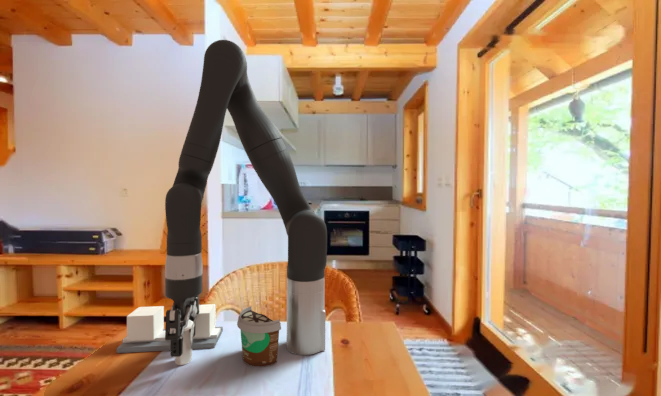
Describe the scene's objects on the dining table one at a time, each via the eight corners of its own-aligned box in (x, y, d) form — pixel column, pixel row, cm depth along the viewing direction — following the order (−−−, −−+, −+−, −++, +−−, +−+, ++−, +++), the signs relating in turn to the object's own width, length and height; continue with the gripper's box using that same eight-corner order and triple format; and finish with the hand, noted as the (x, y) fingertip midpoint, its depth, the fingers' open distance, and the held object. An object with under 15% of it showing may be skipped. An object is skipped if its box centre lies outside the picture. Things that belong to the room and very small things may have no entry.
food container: (226, 355, 72) (226, 312, 72) (249, 345, 76) (249, 305, 76) (257, 377, 63) (257, 329, 63) (281, 365, 68) (281, 320, 68)
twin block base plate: (222, 331, 84) (222, 301, 84) (214, 347, 75) (214, 315, 75) (136, 335, 81) (135, 305, 81) (116, 353, 72) (116, 319, 72)
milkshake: (189, 368, 66) (188, 322, 66) (167, 365, 67) (166, 320, 67) (202, 357, 71) (201, 314, 70) (181, 354, 72) (181, 312, 72)
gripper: (191, 282, 62) (190, 362, 62) (210, 265, 76) (209, 330, 76) (151, 283, 61) (151, 364, 61) (178, 265, 75) (177, 331, 76)
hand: (183, 345), depth 69 cm, fingers open, 8 cm apart
